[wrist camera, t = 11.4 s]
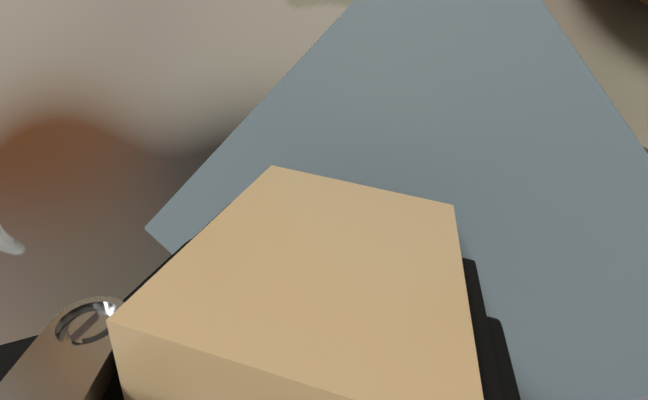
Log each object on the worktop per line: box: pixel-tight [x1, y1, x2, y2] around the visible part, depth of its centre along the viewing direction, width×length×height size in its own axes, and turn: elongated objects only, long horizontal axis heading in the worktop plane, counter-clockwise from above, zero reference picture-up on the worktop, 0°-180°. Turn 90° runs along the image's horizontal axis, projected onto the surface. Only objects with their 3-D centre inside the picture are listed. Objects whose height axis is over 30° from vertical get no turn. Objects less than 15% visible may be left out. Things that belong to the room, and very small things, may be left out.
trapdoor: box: [144, 0, 648, 400], centre depth 15 cm, size 22×16×4 cm
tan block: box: [106, 165, 484, 400], centre depth 8 cm, size 5×5×6 cm
